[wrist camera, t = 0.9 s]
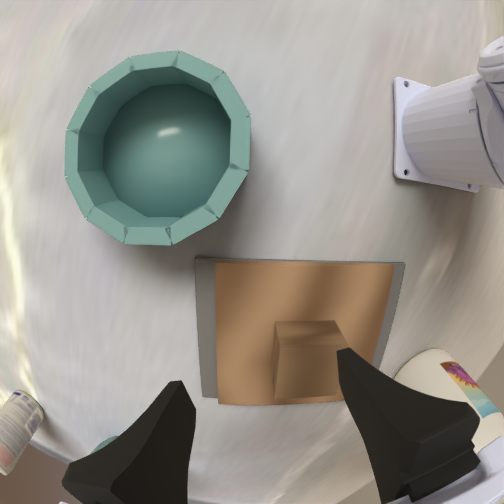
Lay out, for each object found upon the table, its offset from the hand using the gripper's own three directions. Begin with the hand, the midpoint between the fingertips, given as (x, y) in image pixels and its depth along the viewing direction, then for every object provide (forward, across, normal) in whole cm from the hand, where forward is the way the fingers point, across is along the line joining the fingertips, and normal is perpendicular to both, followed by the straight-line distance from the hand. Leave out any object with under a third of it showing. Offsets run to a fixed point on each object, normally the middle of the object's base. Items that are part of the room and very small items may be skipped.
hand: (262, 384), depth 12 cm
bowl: (+10, +3, -12) cm, 16 cm away
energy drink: (+10, +33, +10) cm, 36 cm away
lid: (+9, -3, +4) cm, 10 cm away
